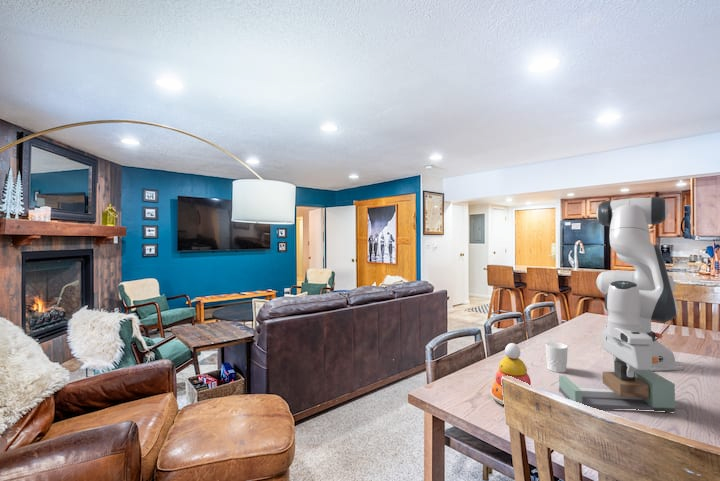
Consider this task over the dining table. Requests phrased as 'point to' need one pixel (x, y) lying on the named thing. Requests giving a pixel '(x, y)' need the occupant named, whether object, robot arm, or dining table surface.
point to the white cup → (556, 356)
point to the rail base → (608, 399)
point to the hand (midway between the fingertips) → (624, 373)
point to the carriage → (625, 382)
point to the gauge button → (654, 360)
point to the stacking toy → (509, 371)
